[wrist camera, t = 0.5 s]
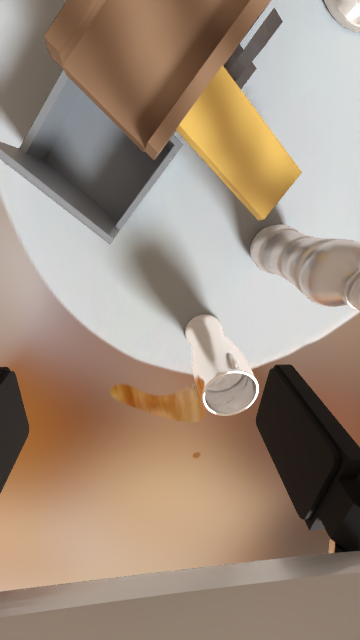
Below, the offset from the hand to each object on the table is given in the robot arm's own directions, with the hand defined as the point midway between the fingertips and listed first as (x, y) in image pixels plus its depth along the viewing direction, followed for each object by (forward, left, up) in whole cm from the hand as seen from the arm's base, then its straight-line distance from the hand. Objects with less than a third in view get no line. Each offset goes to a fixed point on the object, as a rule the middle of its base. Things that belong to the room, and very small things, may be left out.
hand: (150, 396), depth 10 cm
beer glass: (+4, +15, -29) cm, 33 cm away
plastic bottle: (-12, +13, -29) cm, 34 cm away
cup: (-6, -10, -29) cm, 31 cm away
